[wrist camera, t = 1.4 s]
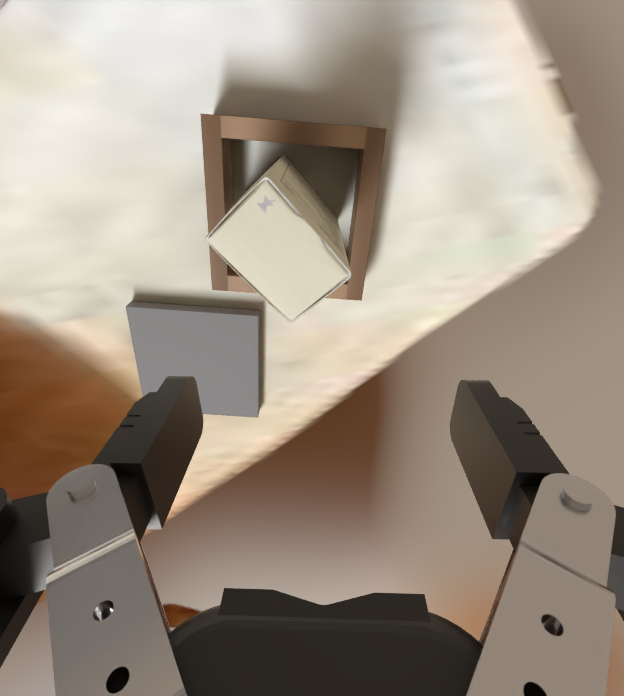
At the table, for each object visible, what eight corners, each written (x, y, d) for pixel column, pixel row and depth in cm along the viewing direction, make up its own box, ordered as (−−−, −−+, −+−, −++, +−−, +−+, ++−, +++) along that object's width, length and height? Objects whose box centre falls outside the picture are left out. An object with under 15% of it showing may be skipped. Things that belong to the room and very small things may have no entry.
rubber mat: (150, 402, 38) (145, 410, 37) (131, 301, 33) (125, 306, 32) (259, 409, 38) (258, 417, 37) (259, 310, 33) (257, 316, 32)
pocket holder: (221, 276, 31) (212, 289, 29) (212, 115, 26) (200, 113, 23) (358, 286, 32) (361, 300, 29) (379, 128, 26) (386, 128, 23)
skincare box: (242, 195, 28) (195, 235, 18) (284, 152, 27) (261, 167, 16) (300, 259, 31) (289, 328, 20) (342, 223, 29) (355, 276, 18)
